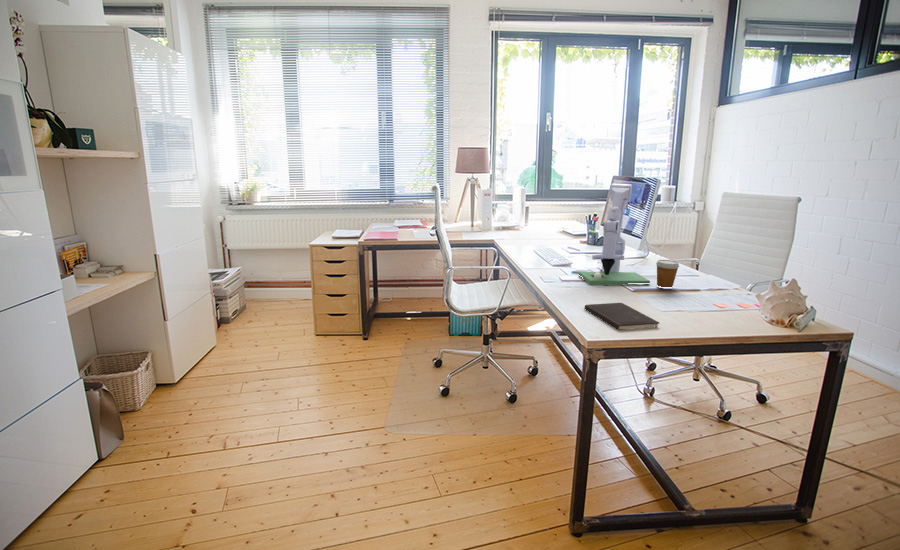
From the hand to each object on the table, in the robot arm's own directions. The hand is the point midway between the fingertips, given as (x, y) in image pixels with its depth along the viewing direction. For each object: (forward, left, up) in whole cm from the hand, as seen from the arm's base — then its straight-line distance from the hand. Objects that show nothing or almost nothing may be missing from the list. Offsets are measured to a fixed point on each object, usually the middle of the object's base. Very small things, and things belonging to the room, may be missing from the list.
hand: (606, 274), depth 224 cm
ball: (0, -4, -1) cm, 4 cm away
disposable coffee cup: (+12, +23, -3) cm, 26 cm away
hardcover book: (+52, -14, -4) cm, 54 cm away
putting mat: (0, +4, -3) cm, 5 cm away
